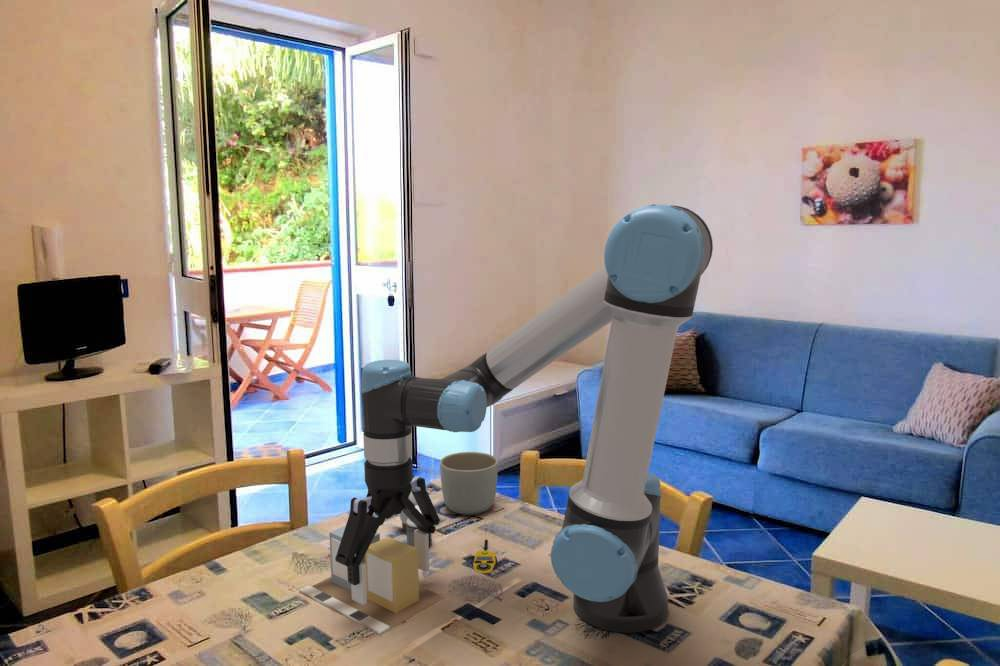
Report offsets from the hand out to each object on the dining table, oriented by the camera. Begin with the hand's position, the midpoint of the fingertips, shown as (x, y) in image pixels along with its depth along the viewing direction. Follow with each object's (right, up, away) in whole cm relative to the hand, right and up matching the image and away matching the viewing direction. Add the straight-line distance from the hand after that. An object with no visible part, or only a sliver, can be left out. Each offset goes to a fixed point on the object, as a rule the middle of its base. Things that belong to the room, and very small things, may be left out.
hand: (392, 584), depth 120 cm
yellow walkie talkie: (+15, -2, +17) cm, 22 cm away
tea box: (0, -3, +1) cm, 3 cm away
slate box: (-7, -2, +6) cm, 9 cm away
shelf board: (-4, -4, +2) cm, 6 cm away
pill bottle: (+2, -1, +21) cm, 21 cm away
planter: (+11, +2, +40) cm, 42 cm away
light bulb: (-1, 0, +28) cm, 28 cm away
